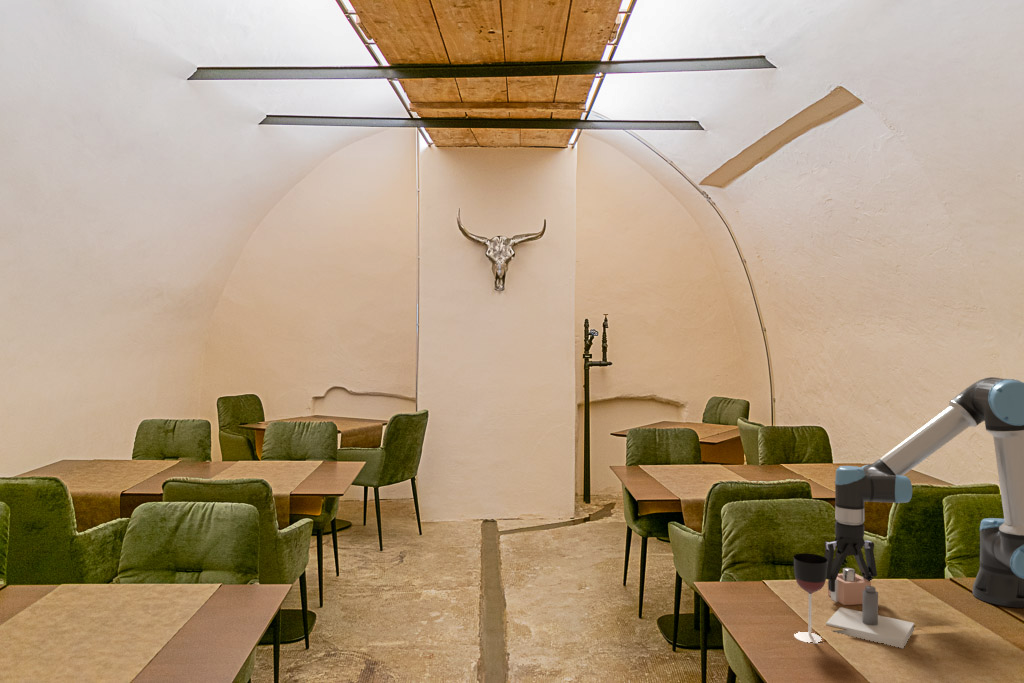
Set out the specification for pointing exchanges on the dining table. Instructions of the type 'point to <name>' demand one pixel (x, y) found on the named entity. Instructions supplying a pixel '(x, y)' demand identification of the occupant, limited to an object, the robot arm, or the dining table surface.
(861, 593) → the collar
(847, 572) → the stand
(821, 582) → the wineglass
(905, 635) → the base plate with rod
